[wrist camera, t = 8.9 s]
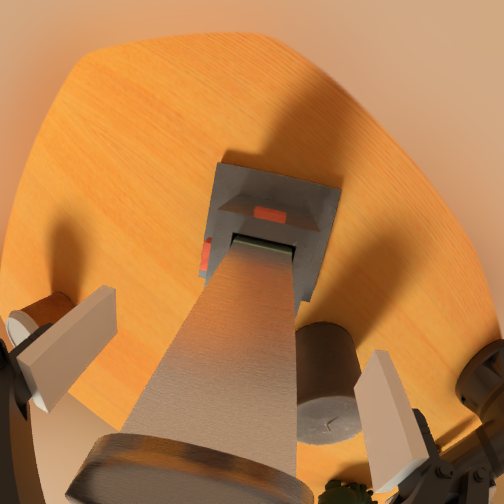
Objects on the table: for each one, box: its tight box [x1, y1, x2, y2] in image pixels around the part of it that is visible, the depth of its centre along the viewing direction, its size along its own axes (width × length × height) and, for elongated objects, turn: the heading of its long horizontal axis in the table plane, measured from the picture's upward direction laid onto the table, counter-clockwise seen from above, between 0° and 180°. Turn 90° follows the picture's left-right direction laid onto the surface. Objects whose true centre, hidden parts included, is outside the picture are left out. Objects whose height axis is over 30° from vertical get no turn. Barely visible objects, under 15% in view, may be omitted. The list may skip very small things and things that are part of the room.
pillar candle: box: [295, 322, 363, 445], centre depth 31 cm, size 10×10×15 cm
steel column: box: [65, 234, 314, 504], centre depth 15 cm, size 6×6×24 cm
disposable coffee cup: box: [6, 292, 74, 348], centre depth 36 cm, size 10×10×12 cm
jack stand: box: [199, 162, 341, 318], centre depth 28 cm, size 14×14×12 cm
